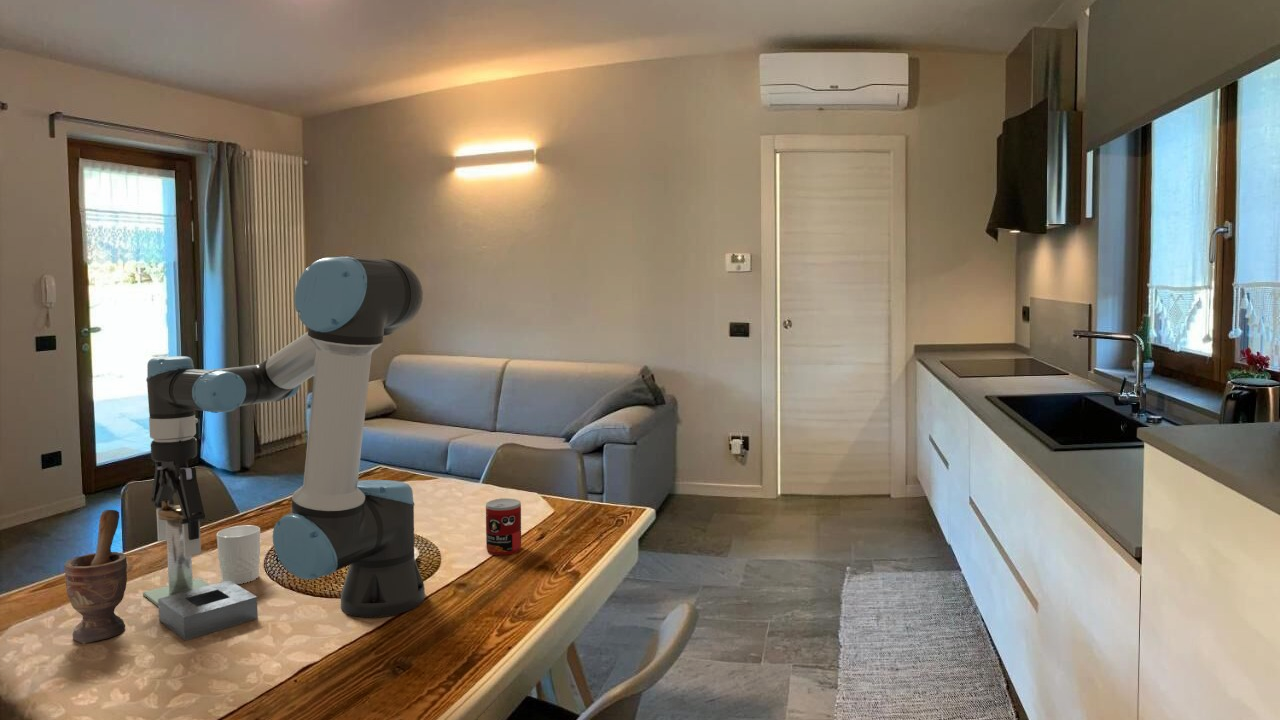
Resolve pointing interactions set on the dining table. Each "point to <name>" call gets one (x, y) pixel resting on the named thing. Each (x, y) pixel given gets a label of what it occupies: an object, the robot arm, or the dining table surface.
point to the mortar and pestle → (98, 585)
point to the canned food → (503, 526)
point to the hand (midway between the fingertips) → (179, 547)
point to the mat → (164, 591)
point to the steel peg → (176, 550)
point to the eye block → (207, 609)
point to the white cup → (239, 553)
